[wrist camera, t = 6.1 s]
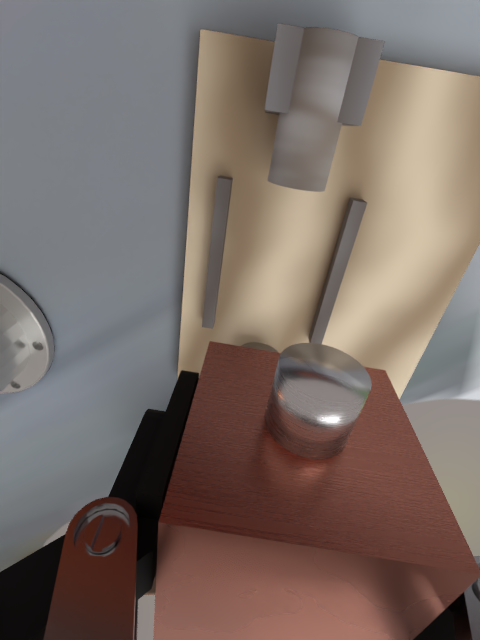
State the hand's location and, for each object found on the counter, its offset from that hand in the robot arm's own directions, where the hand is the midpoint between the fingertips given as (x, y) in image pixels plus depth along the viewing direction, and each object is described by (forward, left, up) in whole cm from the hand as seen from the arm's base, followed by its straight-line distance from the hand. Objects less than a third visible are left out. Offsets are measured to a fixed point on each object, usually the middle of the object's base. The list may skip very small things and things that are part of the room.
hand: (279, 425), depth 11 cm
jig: (+3, 0, -15) cm, 15 cm away
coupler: (0, 0, 0) cm, 0 cm away
